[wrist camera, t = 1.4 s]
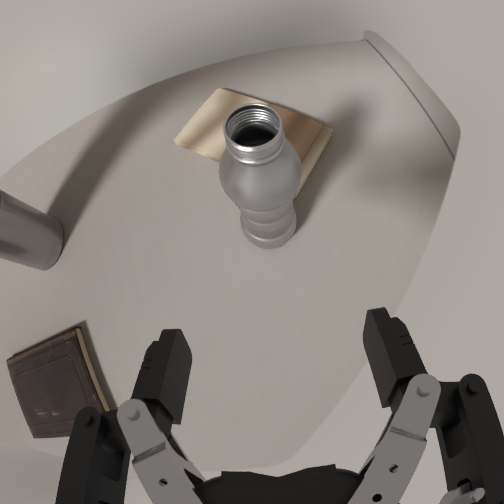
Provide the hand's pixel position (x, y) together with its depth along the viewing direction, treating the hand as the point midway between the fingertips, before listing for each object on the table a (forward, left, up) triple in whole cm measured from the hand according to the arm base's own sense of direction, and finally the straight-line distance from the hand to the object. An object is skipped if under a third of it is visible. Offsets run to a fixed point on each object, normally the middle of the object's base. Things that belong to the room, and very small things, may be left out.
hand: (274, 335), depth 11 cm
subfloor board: (-16, +21, -21) cm, 33 cm away
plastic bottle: (-7, +10, -21) cm, 24 cm away
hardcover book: (-24, -31, -22) cm, 44 cm away
